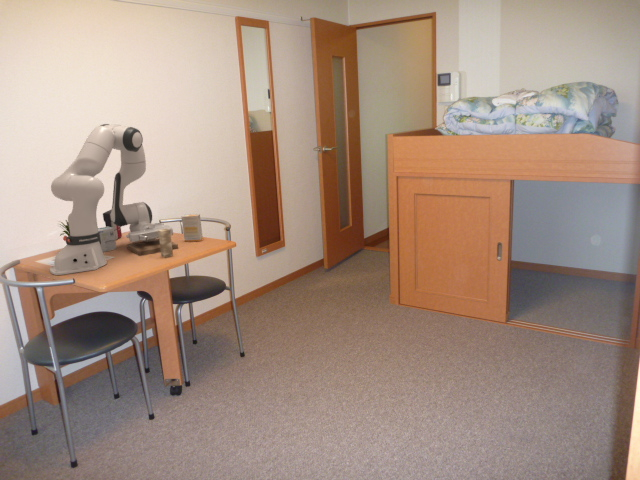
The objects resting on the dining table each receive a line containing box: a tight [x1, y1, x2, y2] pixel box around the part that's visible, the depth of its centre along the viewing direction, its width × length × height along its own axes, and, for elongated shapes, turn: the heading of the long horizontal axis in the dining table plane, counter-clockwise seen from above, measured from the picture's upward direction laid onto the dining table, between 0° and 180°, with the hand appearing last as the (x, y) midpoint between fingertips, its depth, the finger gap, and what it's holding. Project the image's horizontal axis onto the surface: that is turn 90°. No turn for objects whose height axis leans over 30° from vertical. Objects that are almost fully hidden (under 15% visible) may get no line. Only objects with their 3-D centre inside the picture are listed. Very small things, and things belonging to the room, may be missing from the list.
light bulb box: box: [98, 226, 118, 253], centre depth 259 cm, size 11×7×11 cm, turn 134°
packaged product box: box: [102, 209, 123, 240], centre depth 281 cm, size 11×4×15 cm, turn 179°
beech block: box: [158, 229, 174, 259], centre depth 242 cm, size 4×4×12 cm
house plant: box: [58, 219, 70, 237], centre depth 260 cm, size 14×14×16 cm
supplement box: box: [181, 213, 204, 243], centre depth 269 cm, size 8×5×13 cm, turn 84°
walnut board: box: [126, 238, 179, 257], centre depth 259 cm, size 18×20×2 cm
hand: (156, 236), depth 251 cm, fingers open, 8 cm apart
